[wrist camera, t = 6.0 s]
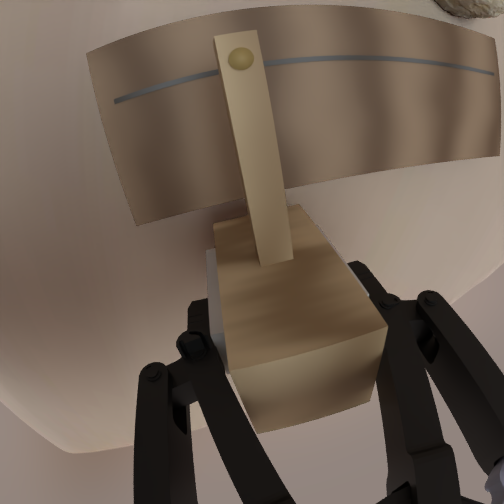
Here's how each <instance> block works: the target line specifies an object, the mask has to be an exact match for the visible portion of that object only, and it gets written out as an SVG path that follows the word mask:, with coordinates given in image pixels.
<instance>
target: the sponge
mask: <svg viewBox="0 0 504 504" xmlns="http://www.w3.org/2000/svg"><path fill="white" fill-rule="evenodd" d="M435 1H436V2H437V3H438V4H440V6H441V7H442V8H443V10H445V11H448V12H450V13H451V14H453V15H455V16H461V17H465V18H468V19H469V18H472V17H474V18H476V17H478V18H491V17H497V16H499V15H500V14H503V13H504V0H435Z"/></svg>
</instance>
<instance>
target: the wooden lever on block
mask: <svg viewBox="0 0 504 504" xmlns="http://www.w3.org/2000/svg"><path fill="white" fill-rule="evenodd" d="M213 47H214V52H215V56H216V61H217V66H218V71H219V75H220V80H221V85H222V90H223V95H224V100H225V104H226V109H227V114H228V119H229V124H230V129H231V133H232V138H233V143H234V148H235V153H236V158H237V163H238V167H239V172H240V177H241V182H242V187H243V192H244V197H245V202H246V207H247V212H248V215H247V216H243V217H239V218H234V219H230V220H226V221H222V222H217V223H213V229H214V240H215V251H216V262H217V272H218V282H219V291H220V300H221V309H222V318H223V327H224V335H225V343H226V351H227V359H228V367H229V372H230V375H231V377H232V379H233V382H234V384H235V386H236V388H237V391H238V393H239V395H240V398H241V400H242V402H243V404H244V407H245V409H246V411H247V413H248V415H249V417H250V420H251V422H252V424H253V426H254V428H255V431H256V432H257V434H259V433H264V432H269V431H273V430H278V429H281V428H286V427H290V426H294V425H298V424H301V423H305V422H309V421H312V420H316V419H319V418H322V417H325V416H328V415H332V414H335V413H338V412H341V411H344V410H347V409H350V408H353V407H356V406H358V405H361V404H364V403H367V402H369V401H370V398H371V394H372V391H373V387H374V384H375V380H376V377H377V373H378V369H379V365H380V361H381V357H382V353H383V348H384V344H385V339H386V335H387V330H388V325H387V323H386V322H385V320H384V319H383V318H382V316H381V315H380V313H379V312H378V310H377V309H376V307H375V306H374V304H373V303H372V301H371V300H370V299H369V297H368V296H367V294H366V293H365V291H364V290H363V289H362V287H361V286H360V284H359V283H358V282H357V280H356V279H355V277H354V276H353V275H352V273H351V272H350V270H349V269H348V268H347V266H346V265H345V264H344V262H343V261H342V260H341V258H340V257H339V255H338V254H337V253H336V251H335V250H334V249H333V247H332V246H331V245H330V243H329V242H328V241H327V240H326V238H325V237H324V236H323V234H322V233H321V232H320V230H319V229H318V228H317V227H316V225H315V224H314V223H313V221H312V220H311V219H310V218H309V216H308V215H307V214H306V212H305V211H304V210H303V209H302V207H301V206H300V205H299V204H297V205H293V206H288V207H287V204H286V197H285V190H284V183H283V176H282V169H281V163H280V156H279V150H278V144H277V138H276V132H275V126H274V120H273V114H272V108H271V102H270V97H269V91H268V86H267V80H266V75H265V70H264V64H263V59H262V54H261V49H260V44H259V39H258V35H257V30H250V31H242V32H236V33H229V34H223V35H218V36H214V39H213Z"/></svg>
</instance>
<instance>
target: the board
mask: <svg viewBox="0 0 504 504" xmlns="http://www.w3.org/2000/svg"><path fill="white" fill-rule="evenodd" d="M250 30H257V35H258V39H259V44H260V49H261V54H262V59H263V64H264V70H265V75H266V80H267V86H268V91H269V97H270V102H271V108H272V114H273V120H274V126H275V132H276V138H277V144H278V150H279V156H280V163H281V169H282V176H283V183H284V189H288V188H293V187H298V186H302V185H307V184H312V183H317V182H323V181H328V180H333V179H338V178H344V177H349V176H355V175H361V174H366V173H372V172H378V171H384V170H391V169H397V168H404V167H410V166H417V165H424V164H432V163H439V162H447V161H455V160H464V159H473V158H482V157H492V156H500V141H501V95H500V79H499V68H498V59H497V51H496V45H495V39H494V38H492V37H489V36H486V35H484V34H481V33H478V32H475V31H472V30H469V29H466V28H463V27H460V26H457V25H453V24H450V23H446V22H442V21H439V20H435V19H430V18H426V17H422V16H417V15H412V14H407V13H401V12H395V11H389V10H382V9H374V8H365V7H354V6H338V5H286V6H270V7H258V8H249V9H241V10H234V11H227V12H221V13H215V14H210V15H205V16H200V17H195V18H191V19H186V20H182V21H178V22H174V23H170V24H167V25H163V26H159V27H156V28H153V29H149V30H146V31H143V32H140V33H137V34H134V35H131V36H128V37H125V38H123V39H120V40H117V41H115V42H112V43H110V44H107V45H105V46H102V47H100V48H97V49H95V50H93V51H90V52H88V53H86V55H87V60H88V65H89V70H90V74H91V79H92V83H93V88H94V92H95V96H96V100H97V104H98V108H99V112H100V115H101V119H102V123H103V126H104V130H105V133H106V137H107V140H108V143H109V147H110V150H111V153H112V157H113V160H114V163H115V166H116V169H117V172H118V175H119V178H120V181H121V184H122V187H123V190H124V193H125V196H126V198H127V201H128V204H129V207H130V210H131V212H132V215H133V218H134V220H135V223H136V226H139V225H142V224H146V223H149V222H153V221H156V220H160V219H164V218H167V217H171V216H175V215H179V214H182V213H186V212H190V211H194V210H198V209H202V208H206V207H210V206H214V205H218V204H222V203H226V202H230V201H234V200H239V199H243V198H245V197H244V192H243V187H242V182H241V177H240V172H239V167H238V163H237V158H236V153H235V148H234V143H233V138H232V133H231V129H230V124H229V119H228V114H227V109H226V104H225V100H224V95H223V90H222V85H221V80H220V75H219V71H218V66H217V61H216V56H215V52H214V47H213V39H214V36H218V35H223V34H229V33H236V32H242V31H250Z"/></svg>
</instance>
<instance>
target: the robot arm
mask: <svg viewBox="0 0 504 504" xmlns="http://www.w3.org/2000/svg"><path fill="white" fill-rule="evenodd" d="M316 227H317V228H318V229H319V230H320V232H321V233H322V234H323V236H324V237H325V238H326V240H327V241H328V242H329V243H330V245H331V246H332V247H333V249H334V250H335V251H336V253H337V254H338V255H339V257H340V258H341V260H342V261H343V262H344V264H345V265H346V266H347V268H348V269H349V270H350V272H351V273H352V275H353V276H354V277H355V279H356V280H357V282H358V283H359V284H360V286H361V287H362V289H363V290H364V291H365V293H366V294H367V296H368V297H369V299H370V300H371V301H372V303H373V304H374V306H375V307H376V309H377V310H378V312H379V313H380V315H381V316H382V318H383V319H384V320H385V322H386V323H387V325H388V330H387V335H386V339H385V344H384V348H383V353H382V357H381V361H380V365H379V369H378V373H377V377H376V384H377V390H378V396H379V402H380V408H381V415H382V421H383V429H384V436H385V444H386V453H387V462H388V477H387V484H386V487H387V497H385V498H384V499H382V500H381V501H379V502H378V503H376V504H483V503H480V502H477V501H474V500H472V499H469V498H466V497H463V496H461V495H460V487H459V480H458V473H457V468H456V462H455V457H454V452H453V449H452V447H451V446H450V445H449V444H447V443H445V441H444V439H443V435H442V430H441V426H440V421H439V417H438V413H437V409H436V405H435V402H434V398H433V394H432V390H431V387H430V383H429V380H428V377H427V373H426V370H427V372H428V373H429V375H430V377H431V378H432V380H433V382H434V383H435V385H436V387H437V388H438V390H439V392H440V394H441V395H442V397H443V399H444V401H445V402H446V404H447V406H448V408H449V409H450V411H451V413H452V415H453V417H454V418H455V420H456V422H457V424H458V426H459V428H460V430H461V431H462V433H463V435H464V437H465V439H466V441H467V443H468V445H469V447H470V449H471V451H472V453H473V455H474V457H475V459H476V460H477V462H478V464H479V465H480V467H481V468H482V469H483V471H484V472H485V473H486V474H487V475H488V479H487V481H486V483H485V490H486V491H487V492H490V493H491V496H492V503H491V504H504V375H503V373H502V372H501V370H500V369H499V368H498V366H497V365H496V363H495V362H494V361H493V359H492V358H491V357H490V355H489V354H488V352H487V351H486V350H485V348H484V347H483V346H482V344H481V343H480V342H479V341H478V339H477V338H476V337H475V335H474V334H473V333H472V332H471V330H470V329H469V328H468V327H467V325H466V324H465V323H464V322H463V321H462V319H461V318H460V317H459V316H458V314H457V313H456V312H455V311H454V310H453V308H452V307H451V306H450V305H449V304H448V303H447V301H446V300H445V299H444V298H443V297H442V296H441V295H440V294H439V293H437V292H435V291H431V290H426V291H423V292H421V293H420V294H419V295H418V298H417V300H400V298H399V297H397V296H396V295H393V294H390V293H387V292H386V290H385V289H384V288H383V287H382V285H381V284H380V283H379V281H378V280H377V279H376V278H375V277H374V275H373V274H372V273H371V272H370V270H369V269H368V268H367V266H366V265H365V264H363V263H361V262H359V261H354V262H350V263H346V262H345V260H344V259H343V258H342V256H341V255H340V254H339V252H338V251H337V250H336V248H335V247H334V246H333V244H332V243H331V242H330V240H329V239H328V238H327V237H326V235H325V234H324V233H323V231H322V230H321V229H320V228H319V226H318V225H316ZM206 269H207V289H208V298H206V299H202V300H197V301H192V302H191V304H190V306H189V308H188V325H187V331H185V332H183V333H182V334H181V335H180V336H179V337H178V339H177V341H176V347H177V348H178V350H179V352H180V354H181V356H182V357H181V358H180V359H179V360H177V361H176V362H174V363H171V364H169V365H167V366H165V365H164V364H163V363H160V362H153V363H150V364H148V365H147V366H145V367H144V368H143V369H142V370H141V372H140V375H139V383H138V393H137V406H136V420H135V439H134V504H198V501H197V493H196V483H195V474H194V463H193V452H192V438H191V423H190V406H189V404H191V403H193V402H196V401H198V402H199V404H200V407H201V410H202V412H203V415H204V417H205V420H206V422H207V425H208V427H209V429H210V432H211V435H212V437H213V439H214V442H215V444H216V446H217V449H218V451H219V453H220V456H221V458H222V460H223V462H224V465H225V467H226V469H227V471H228V473H229V475H230V477H231V480H232V482H233V484H234V486H235V488H236V490H237V492H238V494H239V496H240V498H241V500H242V502H243V504H296V503H295V501H294V500H293V498H292V497H291V495H290V494H289V492H288V490H287V489H286V487H285V485H284V484H283V482H282V481H281V479H280V477H279V475H278V474H277V472H276V470H275V468H274V467H273V465H272V463H271V461H270V460H269V458H268V456H267V455H266V453H265V451H264V449H263V447H262V445H261V444H260V442H259V440H258V438H257V436H256V434H255V432H254V431H253V429H252V427H251V425H250V423H249V421H248V419H247V417H246V415H245V413H244V411H243V409H242V407H241V405H240V403H239V401H238V399H237V397H236V395H235V393H234V391H233V389H232V387H231V385H230V383H229V381H228V379H227V377H226V375H225V371H226V373H227V374H230V372H229V367H228V359H227V351H226V343H225V335H224V327H223V318H222V309H221V300H220V291H219V282H218V272H217V262H216V251H215V248H213V249H209V250H206ZM425 369H426V370H425Z"/></svg>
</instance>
